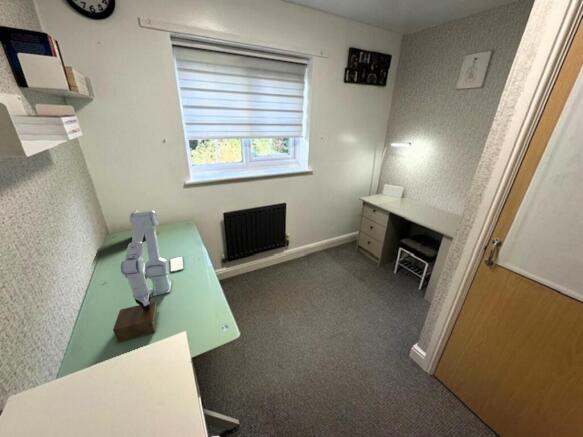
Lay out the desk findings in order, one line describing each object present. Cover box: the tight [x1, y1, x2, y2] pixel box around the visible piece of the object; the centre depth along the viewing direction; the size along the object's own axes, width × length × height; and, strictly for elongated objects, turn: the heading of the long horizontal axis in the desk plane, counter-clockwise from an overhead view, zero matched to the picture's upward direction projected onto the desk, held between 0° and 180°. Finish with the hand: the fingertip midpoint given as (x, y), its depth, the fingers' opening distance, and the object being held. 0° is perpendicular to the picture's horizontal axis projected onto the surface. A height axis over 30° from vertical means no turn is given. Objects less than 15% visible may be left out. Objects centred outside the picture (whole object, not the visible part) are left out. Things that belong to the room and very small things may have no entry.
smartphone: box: [169, 256, 184, 273], centre depth 146 cm, size 7×1×15 cm
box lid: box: [112, 300, 158, 332], centre depth 101 cm, size 14×11×1 cm
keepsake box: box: [113, 307, 159, 343], centre depth 102 cm, size 13×11×6 cm
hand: (146, 308), depth 103 cm, fingers closed, pressing on box lid
